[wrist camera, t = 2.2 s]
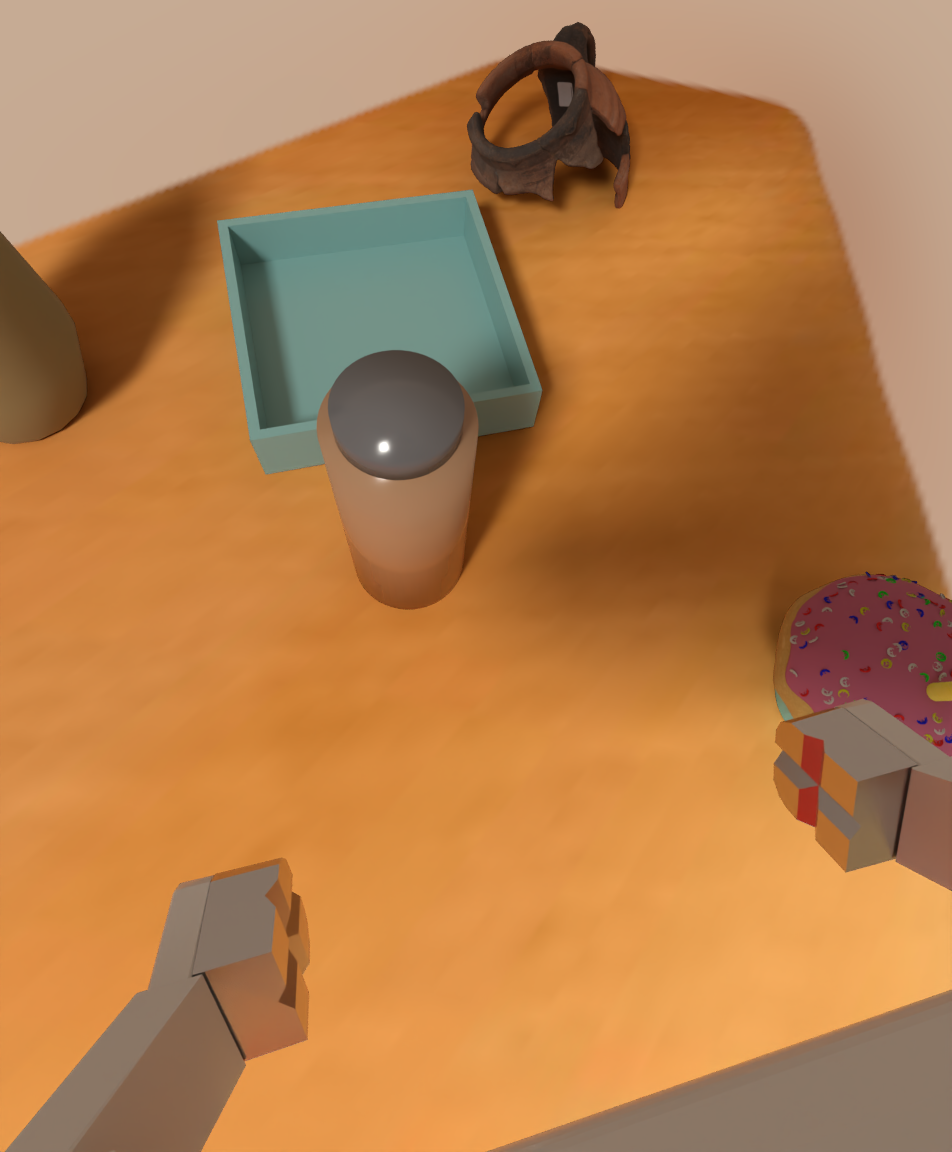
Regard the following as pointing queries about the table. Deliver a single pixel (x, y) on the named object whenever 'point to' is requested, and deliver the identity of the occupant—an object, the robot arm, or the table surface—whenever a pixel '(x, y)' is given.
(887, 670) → the cupcake
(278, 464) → the tray
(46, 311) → the squeeze bottle
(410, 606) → the shaker
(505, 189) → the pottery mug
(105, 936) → the table surface
